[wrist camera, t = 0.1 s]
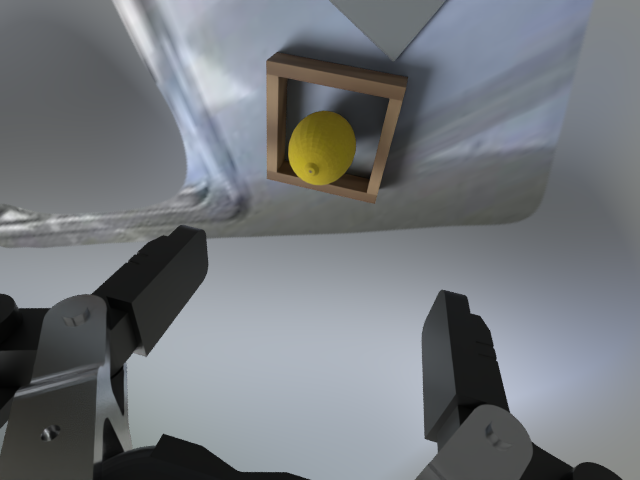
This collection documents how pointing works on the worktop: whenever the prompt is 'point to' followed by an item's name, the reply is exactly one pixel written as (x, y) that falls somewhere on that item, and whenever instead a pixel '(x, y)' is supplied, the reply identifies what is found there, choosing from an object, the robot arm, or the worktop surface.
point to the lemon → (322, 148)
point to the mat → (389, 20)
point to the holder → (336, 77)
